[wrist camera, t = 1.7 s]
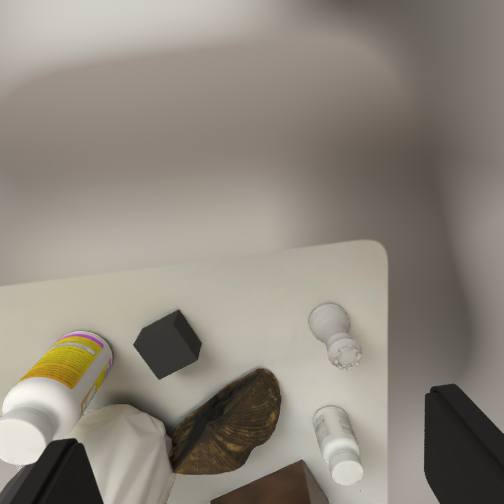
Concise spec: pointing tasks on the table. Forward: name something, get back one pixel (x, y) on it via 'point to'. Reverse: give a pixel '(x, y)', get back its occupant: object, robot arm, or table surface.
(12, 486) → the streaming box
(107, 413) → the vase
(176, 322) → the black cube
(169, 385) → the table surface
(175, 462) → the seashell
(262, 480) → the box
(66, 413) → the supplement bottle
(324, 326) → the rook chess piece
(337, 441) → the pill bottle
